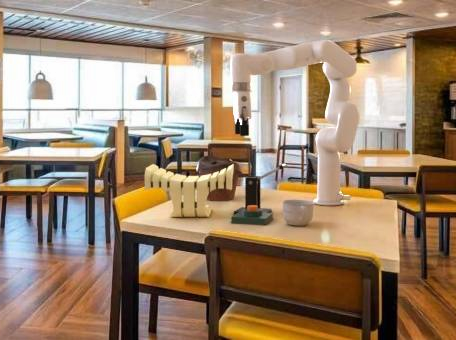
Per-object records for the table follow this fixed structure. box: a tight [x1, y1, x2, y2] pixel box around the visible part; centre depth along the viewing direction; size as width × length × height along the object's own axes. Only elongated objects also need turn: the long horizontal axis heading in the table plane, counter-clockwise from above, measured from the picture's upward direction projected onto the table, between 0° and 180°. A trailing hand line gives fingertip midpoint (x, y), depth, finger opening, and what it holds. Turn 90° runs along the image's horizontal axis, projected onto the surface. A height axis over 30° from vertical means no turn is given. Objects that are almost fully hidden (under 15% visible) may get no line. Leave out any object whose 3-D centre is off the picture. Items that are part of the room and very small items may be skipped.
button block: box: [230, 208, 274, 226], centre depth 188 cm, size 12×10×4 cm
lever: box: [255, 163, 288, 183], centre depth 199 cm, size 15×5×2 cm, turn 76°
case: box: [196, 155, 244, 202], centre depth 230 cm, size 18×20×18 cm
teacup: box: [282, 199, 315, 227], centre depth 182 cm, size 14×11×8 cm
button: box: [247, 205, 258, 211], centre depth 188 cm, size 4×4×2 cm
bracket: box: [233, 175, 273, 216], centre depth 201 cm, size 12×9×14 cm
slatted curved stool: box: [144, 163, 234, 218], centre depth 197 cm, size 30×16×18 cm, turn 96°
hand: (241, 134), depth 198 cm, fingers open, 9 cm apart
